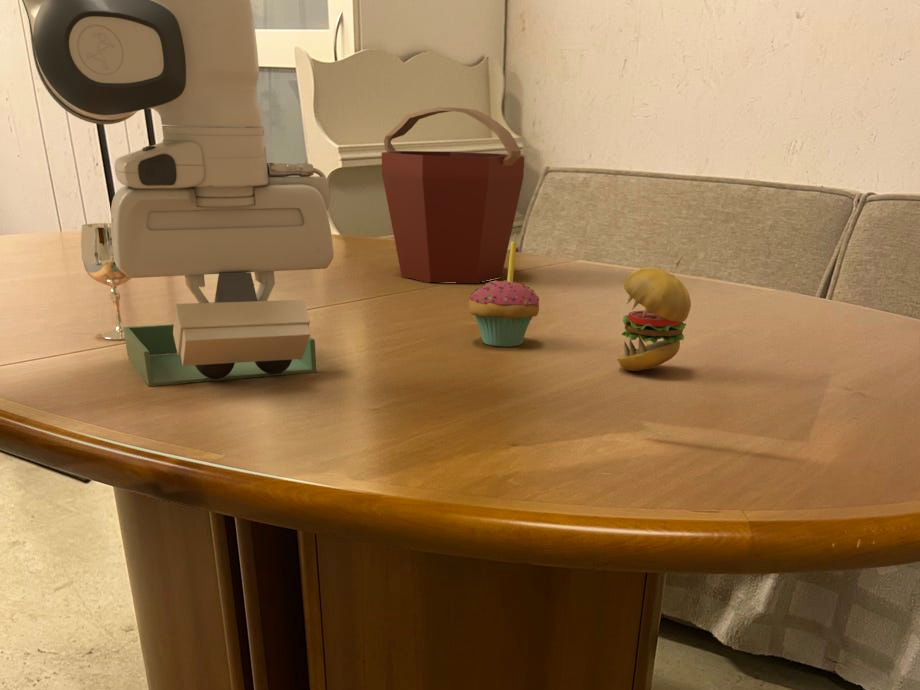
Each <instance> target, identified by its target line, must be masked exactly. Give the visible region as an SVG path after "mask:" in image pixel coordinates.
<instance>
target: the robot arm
mask: <svg viewBox="0 0 920 690" xmlns="http://www.w3.org/2000/svg"><path fill="white" fill-rule="evenodd" d="M21 1H22V4H23V7H24V10H25V12H26V16H27V19H28V24H29V33H30V43H31V49H32V56H33V61H34V65H35V68H36V71H37V74H38V76H39V78H40V80H41V83H42V84H43V86H44V88H45V89H46V91H47V93H48V94H49V95H50V96H51V98H52V99H53V100H54V101H55V102H56V103H57V104H58V105H59V106H60V107H61V108H62V109H64V111H66V112H68V113H69V114H71V115H72V116H74V117H75V118H78V119H79V120H82V121H84V122H87V123H90V124H95V125H114V124H120V123H121V122H124V121H126V120H128V119H130V118H131V117H133V116H135V114H137V112H139V111H142V110H154V111H155V112H157V114H158V115H159V117H160V122H161V130H162V131H161V132H162V141H161V142H158V143H156V144H153V145H146V146H144V147H142V149H139V150H136V151H133V152H130V153H127V154H124V155H121V156H119V157H118V158H116V159H115V161H114V165H113V166H114V174H115V177H116V179H117V181H118V182H119V183H120V184H121V185H123V186H121V187H120V188H119V189H118V190H117V191H116V192H115V194H114V196H112V197H113V198H112V201H111V208H110V223H111V234H112V246H113V254H114V260H115V264H116V266H117V268H118V269H119V270H120V271H121V272H122V273H123V274H125V275H126V276H127V277H129V278H131V279H139V278H142V279H143V278H161V277H164V278H165V277H184V280H185V286H186V287H187V288H188V290H189V291H190V293H191V294H192V295H193V297H194V298H195V299H196V301H197V303H216V302H214V301H213V302H212V301H211V302H209V300H208V298H207V297H206V296H205V294H204V293H203V292H202V290H201V288H205V286H206V282H205V281H206V280H205V275H219V273H254V280H255V281H256V282H258V283H259V285H258V288H257V291H256V296H257V300H258V301H269V297H270V295H271V294H272V291H273V289H274V286H275V284H276V281H275V280H276V279H275V272H285V271H287V272H288V271H306V270H307V271H309V270H325V269H327V268H329V267H330V265H331V263H332V261H333V260H334V258H335V257H334V255H335V253H334V243H333V237H332V230H331V224H330V218H329V214H328V210H329V207H330V202H331V199H330V184H329V180H328V178H327V176H326V175H325V173H323V171H321V170H320V169H318V168H316V167H314V165H313V163H306V162H299V163H294V164H293V163H285V162H284V163H283V162H268V160H267V158H268V157H267V148H266V135H265V125H264V120H263V115H262V113H261V111H260V107H259V103H258V95H257V94H258V93H257V91H258V90H257V89H258V88H257V87H258V82H259V81H258V80H259V76H260V67H259V66H260V65H259V54H258V43H257V37H256V28H255V20H254V13H253V8H252V2H251V0H21ZM314 174H317V175H318V176H317V175H316V176H315V175H314Z"/></svg>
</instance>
